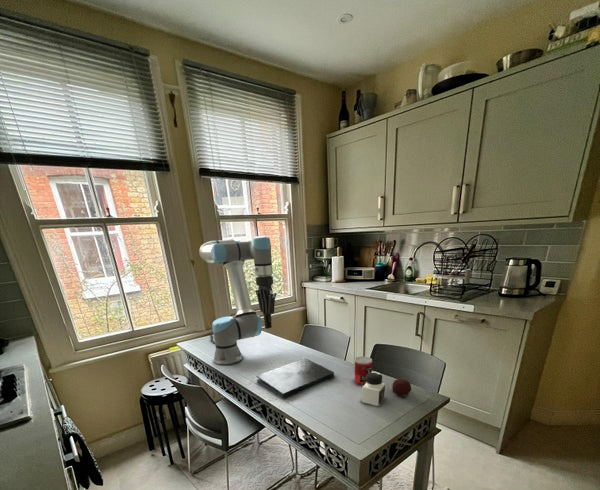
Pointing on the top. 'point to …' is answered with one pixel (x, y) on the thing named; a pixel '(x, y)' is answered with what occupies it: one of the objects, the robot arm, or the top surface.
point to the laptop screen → (294, 375)
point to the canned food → (362, 369)
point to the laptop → (294, 390)
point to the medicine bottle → (373, 389)
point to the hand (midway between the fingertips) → (268, 327)
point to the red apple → (401, 387)
